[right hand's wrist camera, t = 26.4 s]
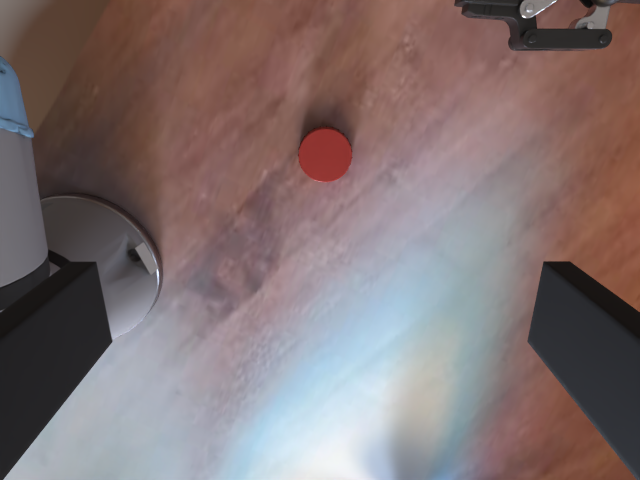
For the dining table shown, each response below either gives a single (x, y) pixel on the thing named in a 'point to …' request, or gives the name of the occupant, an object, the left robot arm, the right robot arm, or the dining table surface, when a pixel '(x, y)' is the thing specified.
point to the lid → (325, 154)
